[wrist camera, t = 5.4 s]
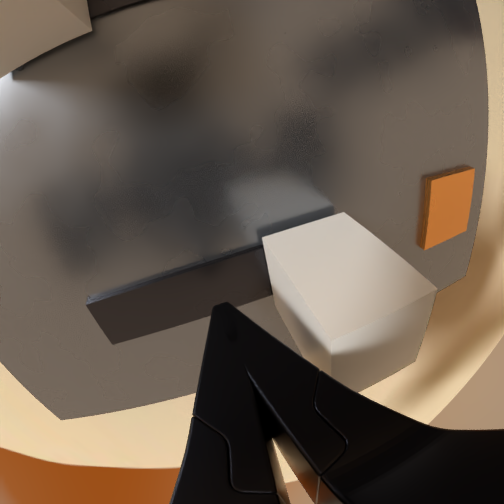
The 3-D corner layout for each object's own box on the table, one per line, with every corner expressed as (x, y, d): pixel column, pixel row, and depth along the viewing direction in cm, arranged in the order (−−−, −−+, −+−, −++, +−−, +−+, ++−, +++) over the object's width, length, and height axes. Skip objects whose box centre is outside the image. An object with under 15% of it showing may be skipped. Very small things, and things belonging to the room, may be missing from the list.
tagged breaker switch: (343, 212, 9) (438, 288, 5) (345, 279, 10) (415, 361, 7) (262, 237, 8) (331, 340, 5) (275, 305, 10) (329, 405, 6)
